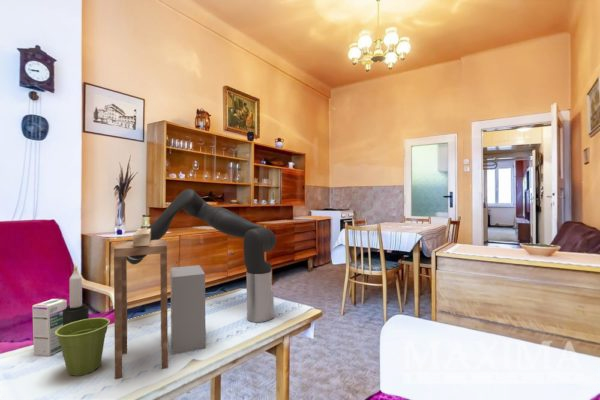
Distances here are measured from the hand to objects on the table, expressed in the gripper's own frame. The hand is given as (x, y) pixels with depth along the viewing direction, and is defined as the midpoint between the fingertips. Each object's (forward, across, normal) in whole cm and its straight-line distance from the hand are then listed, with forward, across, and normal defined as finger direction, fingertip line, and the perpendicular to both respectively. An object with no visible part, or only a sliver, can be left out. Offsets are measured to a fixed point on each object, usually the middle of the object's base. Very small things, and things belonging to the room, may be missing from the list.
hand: (143, 246), depth 104 cm
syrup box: (-6, -24, +28) cm, 38 cm away
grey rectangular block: (+11, +10, +31) cm, 34 cm away
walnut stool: (+15, -3, +32) cm, 35 cm away
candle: (-1, -18, +29) cm, 35 cm away
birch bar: (+17, -2, 0) cm, 17 cm away
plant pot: (+11, -16, +32) cm, 37 cm away
